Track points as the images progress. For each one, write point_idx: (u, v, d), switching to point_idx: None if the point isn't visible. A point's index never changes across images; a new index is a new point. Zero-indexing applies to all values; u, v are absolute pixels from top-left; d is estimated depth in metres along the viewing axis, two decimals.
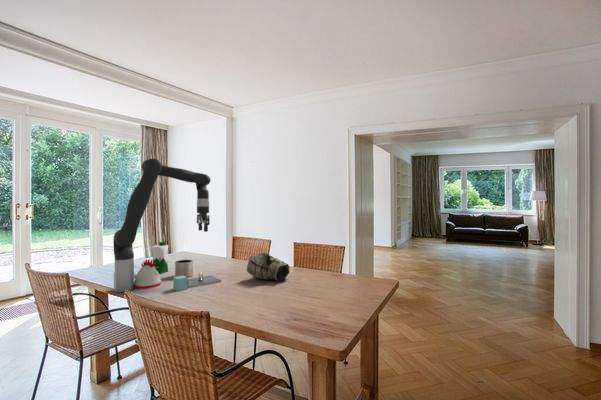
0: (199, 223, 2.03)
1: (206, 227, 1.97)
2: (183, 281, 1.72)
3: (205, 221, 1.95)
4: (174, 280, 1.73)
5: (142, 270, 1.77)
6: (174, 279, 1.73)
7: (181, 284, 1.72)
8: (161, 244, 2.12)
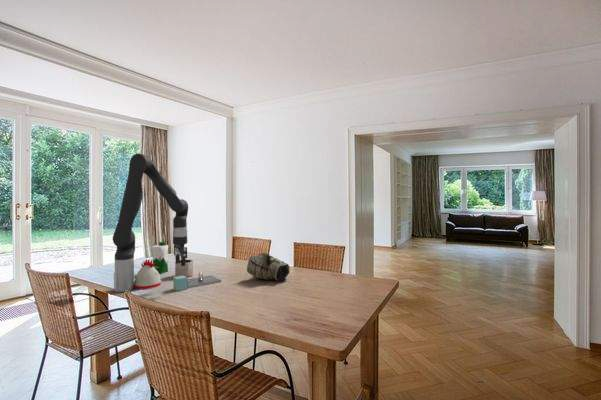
0: (176, 255, 1.76)
1: (183, 261, 1.70)
2: (183, 281, 1.72)
3: (182, 254, 1.68)
4: (174, 280, 1.73)
5: (142, 270, 1.77)
6: (174, 279, 1.73)
7: (181, 284, 1.72)
8: (161, 244, 2.12)
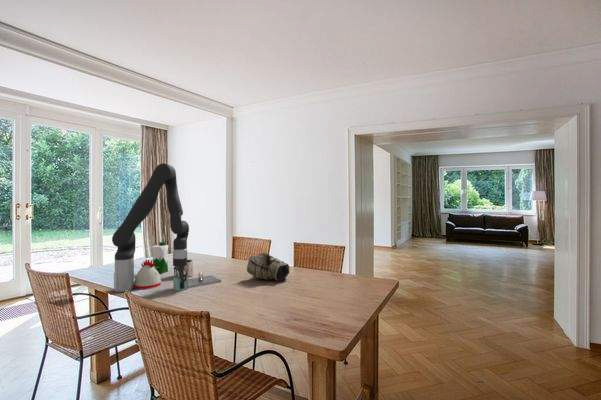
0: None
1: (182, 284, 1.71)
2: None
3: (181, 277, 1.69)
4: (174, 280, 1.73)
5: (142, 270, 1.77)
6: (174, 279, 1.73)
7: None
8: (161, 244, 2.12)
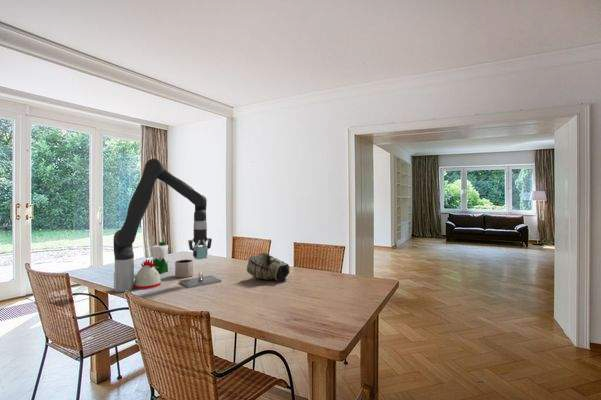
0: None
1: (193, 252, 1.85)
2: (196, 251, 1.85)
3: None
4: None
5: (142, 270, 1.77)
6: None
7: None
8: (161, 244, 2.12)
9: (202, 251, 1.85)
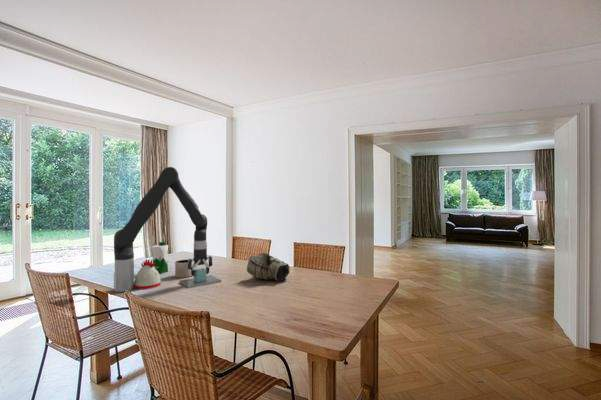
0: None
1: (191, 271, 1.84)
2: (195, 273, 1.85)
3: None
4: None
5: (142, 270, 1.77)
6: None
7: (195, 275, 1.86)
8: (161, 244, 2.12)
9: (202, 273, 1.85)
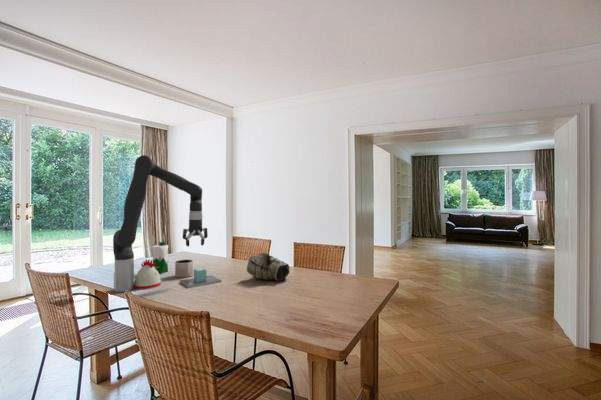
0: (201, 237, 1.90)
1: (186, 241, 1.84)
2: (195, 273, 1.85)
3: None
4: None
5: (142, 270, 1.77)
6: None
7: (195, 275, 1.86)
8: (161, 244, 2.12)
9: (202, 273, 1.85)
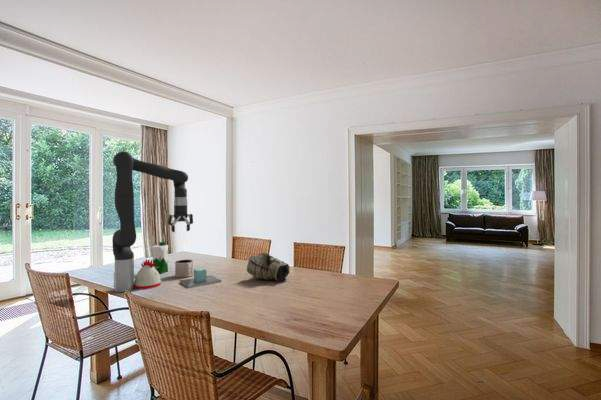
0: (186, 223, 1.93)
1: (171, 227, 1.86)
2: (195, 273, 1.85)
3: None
4: None
5: (142, 270, 1.77)
6: None
7: (195, 275, 1.86)
8: (161, 244, 2.12)
9: (202, 273, 1.85)
